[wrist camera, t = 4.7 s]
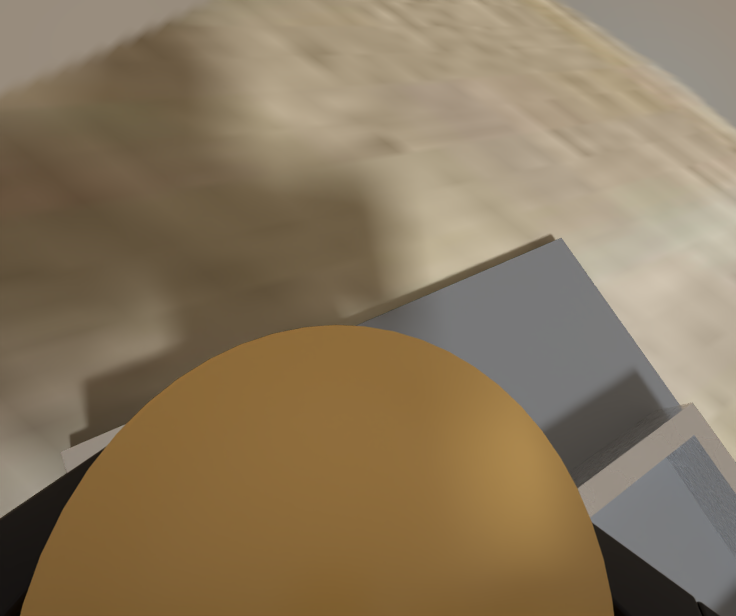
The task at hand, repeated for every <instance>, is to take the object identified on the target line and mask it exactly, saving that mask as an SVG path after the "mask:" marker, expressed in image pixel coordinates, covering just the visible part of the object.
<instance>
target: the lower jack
mask: <svg viewBox="0 0 736 616" xmlns="http://www.w3.org/2000/svg"><path fill="white" fill-rule="evenodd" d="M666 457H667V459H668V460H669V462H670V463H671V465H672V466H673V468H674V469H675V470H676V472H677V473H678V475H679V476H680V478H681V479H682V481H683V482H684V484H685V485H686V487H687V488H688V490H689V491H690V493H691V494H692V496H693V497H694V499H695V500H696V501H697V503H698V504H699V506H700V507H701V509H702V510H703V512H704V513H705V515H706V516H707V518H708V519H709V521H710V522H711V524H712V525H713V527H714V528H715V530H716V531H717V533H718V534H719V535H720V537H721V538H722V540H723V541H724V543H725V544H726V546H727V547H728V549H729V550H730V552H731V553H732V555H733V556H734V558H735V559H736V462H735V461H734V459H733V458H732V457H731V455H730V454H729V452H728V451H727V450H726V448H725V447H724V445H723V444H722V443H721V441H720V440H719V438H718V437H717V436H716V434H715V433H714V432H713V430H712V429H711V427H710V426H709V425H708V423H707V422H706V420H705V419H704V418H703V416H702V415H701V413H700V412H699V411H698V409H697V408H696V406H695V405H694V404H693V403H688V404H683V405H679V406H674V407H669V408H665V409H660V410H655V411H654V412H652V413H651V414H649V415H648V416H647V417H645V418H644V419H642V420H641V421H640V422H638V423H637V424H635V425H634V426H633V427H631V428H630V429H628V430H627V431H626V432H624V433H623V434H622V435H620V436H619V437H617V438H616V439H615V440H613V441H612V442H610V443H609V444H608V445H606V446H605V447H603V448H602V449H601V450H599V451H598V452H596V453H595V454H594V455H592V456H591V457H590V458H588V459H587V460H585V461H584V462H583V463H581V464H580V465H578V466H577V467H576V468H574V469H573V470H571V471H570V472H569V474H570V476H571V478H572V479H573V481H574V483H575V485H576V487H577V489H578V491H579V493H580V496H581V498H582V500H583V503H584V505H585V507H586V510H587V512H588V514H589V517H592V516H593V515H594V514H595V513H597V512H598V511H599V510H600V509H602V508H603V507H604V506H605V505H607V504H608V503H609V502H610V501H612V500H613V499H614V498H615V497H617V496H618V495H619V494H621V493H622V492H623V491H624V490H626V489H627V488H628V487H629V486H631V485H632V484H633V483H634V482H636V481H637V480H638V479H639V478H641V477H642V476H643V475H644V474H646V473H647V472H648V471H649V470H651V469H652V468H653V467H654V466H656V465H657V464H658V463H660V462H661V461H662V460H663V459H665V458H666Z"/></svg>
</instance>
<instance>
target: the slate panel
mask: <svg viewBox="0 0 736 616" xmlns="http://www.w3.org/2000/svg"><path fill="white" fill-rule="evenodd" d="M356 326H366V327H372V328H377V329H383V330H389V331H394V332H398V333H401V334H404V335H408V336H411V337H414V338H417V339H421V340H424V341H426V342H428V343H430V344H433V345H435V346H437V347H439V348H442V349H444V350H446V351H448V352H450V353H452V354H454V355H455V356H457V357H459V358H461V359H462V360H464V361H466V362H467V363H469V364H471V365H472V366H474V367H476V368H477V369H478V370H479V371H481V372H482V373H483V374H485V375H486V376H487V377H489V378H490V379H491V380H493V381H494V382H495V383H497V384H498V385H499V386H500V387H501V388H502V389H503V390H504V391H506V392H507V393H508V394H509V395H510V396H511V397H512V398H513V399H514V400H515V401H516V402H517V403H518V404H519V405H520V406H521V407H522V408H523V409H524V410H525V411H526V413H527V414H528V415H529V416H530V417H531V418H532V420H533V421H534V422H535V423H536V424H537V425H538V427H539V428H540V429H541V430H542V431H543V433H544V434H545V436H546V437H547V439H548V440H549V442H550V443H551V445H552V446H553V447H554V449H555V450H556V452H557V453H558V455H559V456H560V458H561V459H562V461H563V463H564V465H565V467H566V468H567V470H568V472H570V471H571V470H573V469H574V468H576V467H577V466H578V465H580V464H581V463H583V462H584V461H585V460H587V459H588V458H590V457H591V456H592V455H594V454H595V453H596V452H598V451H599V450H601V449H602V448H603V447H605V446H606V445H608V444H609V443H610V442H612V441H613V440H615V439H616V438H617V437H619V436H620V435H622V434H623V433H624V432H626V431H627V430H628V429H630V428H631V427H633V426H634V425H635V424H637V423H638V422H640V421H641V420H642V419H644V418H645V417H647V416H648V415H649V414H651V413H652V412H654V411H655V410H660V409H665V408H669V407H674V406H679V403H678V402H677V400H676V399H675V398H674V396H673V395H672V393H671V392H670V391H669V389H668V388H667V386H666V385H665V383H664V382H663V381H662V379H661V378H660V376H659V375H658V374H657V372H656V371H655V369H654V368H653V367H652V365H651V364H650V362H649V361H648V359H647V358H646V357H645V355H644V354H643V352H642V351H641V350H640V348H639V347H638V345H637V344H636V343H635V341H634V340H633V338H632V337H631V335H630V334H629V333H628V331H627V330H626V328H625V327H624V326H623V324H622V323H621V321H620V320H619V319H618V317H617V316H616V314H615V313H614V311H613V310H612V309H611V307H610V306H609V304H608V303H607V302H606V300H605V299H604V297H603V296H602V295H601V293H600V292H599V290H598V289H597V287H596V286H595V285H594V283H593V282H592V280H591V279H590V278H589V276H588V275H587V273H586V272H585V271H584V269H583V268H582V266H581V265H580V263H579V262H578V261H577V259H576V258H575V256H574V255H573V254H572V252H571V251H570V249H569V248H568V247H567V245H566V244H565V242H564V241H563V239H562V238H560V239H557V240H555V241H552V242H550V243H548V244H545V245H543V246H541V247H538V248H536V249H534V250H531V251H529V252H527V253H524V254H522V255H520V256H517V257H515V258H513V259H510V260H508V261H506V262H503V263H501V264H499V265H496V266H494V267H492V268H489V269H487V270H485V271H482V272H480V273H478V274H475V275H473V276H471V277H468V278H466V279H464V280H461V281H459V282H457V283H454V284H452V285H450V286H447V287H445V288H443V289H440V290H438V291H436V292H433V293H431V294H429V295H426V296H424V297H422V298H419V299H417V300H415V301H412V302H410V303H408V304H405V305H403V306H401V307H398V308H396V309H394V310H391V311H389V312H387V313H384V314H382V315H380V316H377V317H375V318H373V319H370V320H368V321H366V322H363V323H361V324H359V325H356ZM590 519H591V521H592V523H594V524H595V525H596V526H598V527H599V528H601V529H602V530H603V531H605V532H606V533H607V534H609V535H610V536H611V537H613V538H614V539H616V540H617V541H618V542H620V543H621V544H622V545H624V546H625V547H627V548H628V549H629V550H631V551H632V552H633V553H635V554H636V555H638V556H639V557H640V558H642V559H643V560H644V561H646V562H647V563H649V564H650V565H651V566H653V567H654V568H655V569H657V570H658V571H659V572H661V573H662V574H664V575H665V576H666V577H668V578H669V579H670V580H672V581H673V582H675V583H676V584H677V585H679V586H680V587H681V588H683V589H684V590H686V591H687V592H688V593H690V594H691V595H692V596H694V598H695V599H696V602H698V601H700V602H702V603H704V604H705V605H706V606H708V607H709V608H710V609H712V610H713V611H714V612H716V613H717V614H719V615H720V616H736V559H735V558H734V556H733V555H732V553H731V552H730V550H729V549H728V547H727V546H726V544H725V543H724V541H723V540H722V538H721V537H720V535H719V534H718V533H717V531H716V530H715V528H714V527H713V525H712V524H711V522H710V521H709V519H708V518H707V516H706V515H705V513H704V512H703V510H702V509H701V507H700V506H699V504H698V503H697V501H696V500H695V499H694V497H693V496H692V494H691V493H690V491H689V490H688V488H687V487H686V485H685V484H684V482H683V481H682V479H681V478H680V476H679V475H678V473H677V472H676V470H675V469H674V468H673V466H672V465H671V463H670V462H669V460H668V459H667V457H666V458H665V459H663V460H662V461H661V462H660V463H658V464H657V465H656V466H654V467H653V468H652V469H651V470H649V471H648V472H647V473H646V474H644V475H643V476H642V477H641V478H639V479H638V480H637V481H636V482H634V483H633V484H632V485H631V486H629V487H628V488H627V489H626V490H624V491H623V492H622V493H621V494H619V495H618V496H617V497H615V498H614V499H613V500H612V501H610V502H609V503H608V504H607V505H605V506H604V507H603V508H602V509H600V510H599V511H598V512H597V513H595V514H594V515H593V516H592V517H590Z"/></svg>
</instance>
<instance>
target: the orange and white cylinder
mask: <svg viewBox="0 0 736 616" xmlns="http://www.w3.org/2000/svg"><path fill="white" fill-rule="evenodd" d="M20 616H614V611H613V603H612V596H611V591H610V587H609V582H608V577H607V573H606V568H605V563H604V559H603V556H602V553H601V549H600V546H599V543H598V540H597V537H596V534H595V530H594V527H593V524H592V521H591V519H590V517H589V514H588V512H587V510H586V507H585V505H584V503H583V500H582V498H581V496H580V493H579V491H578V489H577V487H576V485H575V483H574V481H573V479H572V478H571V476H570V474H569V472H568V470H567V468H566V467H565V465H564V463H563V461H562V459H561V458H560V456H559V455H558V453H557V452H556V450H555V449H554V447H553V446H552V445H551V443H550V442H549V440H548V439H547V437H546V436H545V434H544V433H543V431H542V430H541V429H540V428H539V427H538V425H537V424H536V423H535V422H534V421H533V420H532V418H531V417H530V416H529V415H528V414H527V413H526V411H525V410H524V409H523V408H522V407H521V406H520V405H519V404H518V403H517V402H516V401H515V400H514V399H513V398H512V397H511V396H510V395H509V394H508V393H507V392H506V391H504V390H503V389H502V388H501V387H500V386H499V385H498V384H497V383H495V382H494V381H493V380H491V379H490V378H489V377H487V376H486V375H485V374H483V373H482V372H481V371H479V370H478V369H477V368H476V367H474V366H472V365H471V364H469V363H467V362H466V361H464V360H462V359H461V358H459V357H457V356H455V355H454V354H452V353H450V352H448V351H446V350H444V349H442V348H439V347H437V346H435V345H433V344H430V343H428V342H426V341H424V340H421V339H417V338H414V337H411V336H408V335H404V334H401V333H398V332H394V331H389V330H383V329H377V328H372V327H366V326H347V325H328V326H315V327H303V328H298V329H293V330H288V331H283V332H279V333H274V334H270V335H267V336H264V337H261V338H258V339H255V340H252V341H249V342H246V343H243V344H240V345H238V346H236V347H234V348H232V349H230V350H228V351H226V352H224V353H221V354H219V355H217V356H215V357H213V358H211V359H209V360H207V361H206V362H204V363H202V364H201V365H199V366H198V367H196V368H194V369H193V370H191V371H190V372H188V373H186V374H185V375H183V376H182V377H180V378H178V379H177V380H176V381H174V382H173V383H172V384H171V385H169V386H168V387H167V388H166V389H164V390H163V391H162V392H161V393H159V394H158V395H157V396H156V397H154V398H153V399H152V400H151V401H149V402H148V403H147V404H146V405H145V406H144V407H143V408H142V409H141V410H140V411H139V412H138V413H137V414H136V415H135V416H134V417H133V418H132V419H131V420H130V421H129V422H128V423H127V424H126V425H125V426H124V427H123V428H122V429H121V430H120V431H119V432H118V433H117V434H116V435H115V436H114V438H113V439H112V440H111V441H110V443H109V444H108V445H107V446H106V448H105V449H104V450H103V451H102V453H101V454H100V455H99V456H98V458H97V459H96V460H95V461H94V463H93V464H92V465H91V466H90V468H89V469H88V471H87V472H86V474H85V475H84V477H83V478H82V480H81V482H80V483H79V485H78V486H77V488H76V490H75V491H74V493H73V494H72V496H71V497H70V499H69V501H68V502H67V504H66V505H65V507H64V508H63V510H62V512H61V514H60V516H59V518H58V520H57V523H56V525H55V527H54V529H53V531H52V533H51V535H50V537H49V539H48V541H47V543H46V545H45V547H44V549H43V551H42V553H41V555H40V558H39V561H38V564H37V566H36V569H35V572H34V575H33V578H32V580H31V583H30V586H29V589H28V592H27V594H26V597H25V600H24V603H23V606H22V610H21V614H20Z"/></svg>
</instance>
